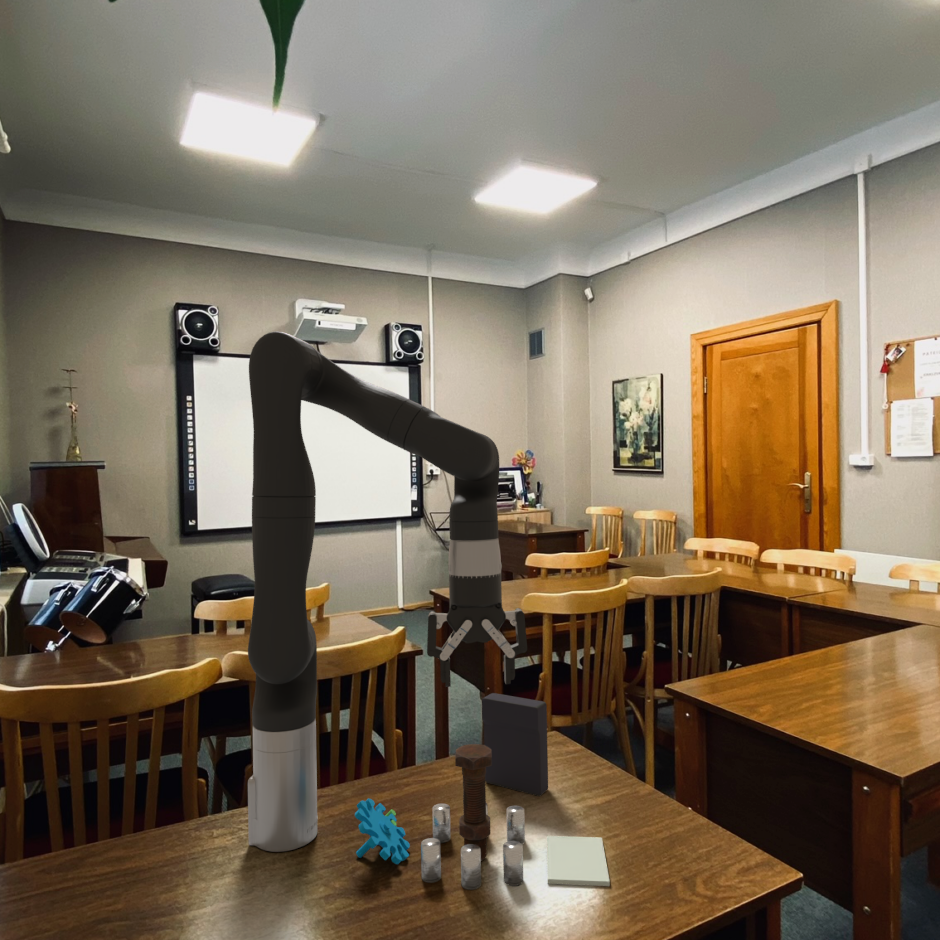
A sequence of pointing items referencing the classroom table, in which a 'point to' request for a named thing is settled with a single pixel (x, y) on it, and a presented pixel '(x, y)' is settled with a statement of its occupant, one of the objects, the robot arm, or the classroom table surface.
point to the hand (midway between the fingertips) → (477, 684)
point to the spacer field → (474, 850)
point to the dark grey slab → (516, 742)
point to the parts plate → (576, 861)
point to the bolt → (474, 794)
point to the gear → (381, 831)
